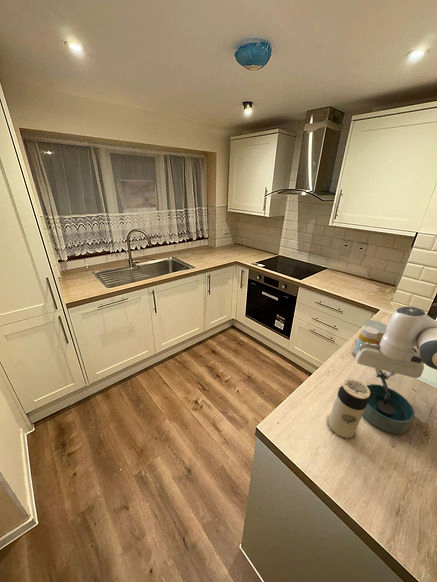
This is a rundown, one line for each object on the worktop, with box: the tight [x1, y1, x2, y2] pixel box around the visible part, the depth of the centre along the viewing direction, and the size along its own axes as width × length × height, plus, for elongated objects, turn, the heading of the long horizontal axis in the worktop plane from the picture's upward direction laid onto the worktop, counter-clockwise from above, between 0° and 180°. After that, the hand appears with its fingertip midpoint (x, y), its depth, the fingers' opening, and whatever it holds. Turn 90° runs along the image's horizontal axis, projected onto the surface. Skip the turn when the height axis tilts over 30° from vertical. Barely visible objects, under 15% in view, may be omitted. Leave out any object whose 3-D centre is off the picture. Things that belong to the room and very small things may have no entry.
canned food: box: [360, 319, 388, 345], centre depth 115 cm, size 11×11×12 cm
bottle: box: [352, 326, 379, 357], centre depth 108 cm, size 7×7×15 cm
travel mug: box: [327, 377, 370, 439], centre depth 74 cm, size 8×8×18 cm
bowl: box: [362, 383, 416, 434], centre depth 82 cm, size 15×15×6 cm
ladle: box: [376, 369, 395, 418], centre depth 86 cm, size 5×17×7 cm, turn 159°
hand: (381, 377), depth 89 cm, fingers closed on ladle
